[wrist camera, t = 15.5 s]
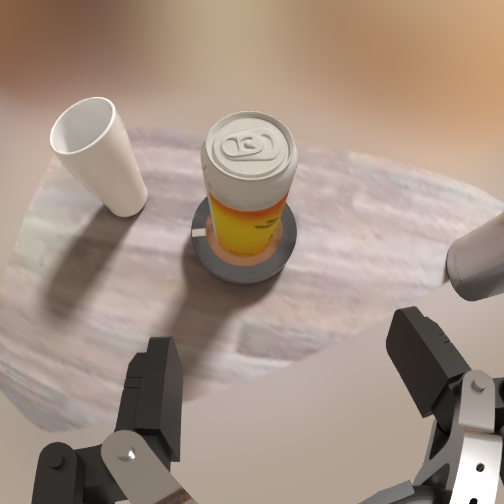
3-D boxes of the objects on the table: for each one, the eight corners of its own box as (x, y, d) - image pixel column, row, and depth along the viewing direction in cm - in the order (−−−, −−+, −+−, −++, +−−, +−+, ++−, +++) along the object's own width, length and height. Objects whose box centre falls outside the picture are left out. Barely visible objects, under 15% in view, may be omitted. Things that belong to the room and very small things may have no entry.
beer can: (279, 254, 31) (313, 179, 17) (219, 264, 31) (204, 194, 16) (267, 200, 33) (287, 103, 18) (211, 209, 32) (194, 113, 18)
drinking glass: (161, 178, 37) (128, 95, 22) (145, 228, 35) (96, 157, 20) (114, 173, 37) (69, 97, 22) (97, 220, 35) (36, 155, 20)
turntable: (285, 188, 36) (288, 179, 34) (300, 279, 33) (304, 275, 31) (192, 195, 35) (189, 186, 33) (196, 289, 32) (193, 285, 30)
